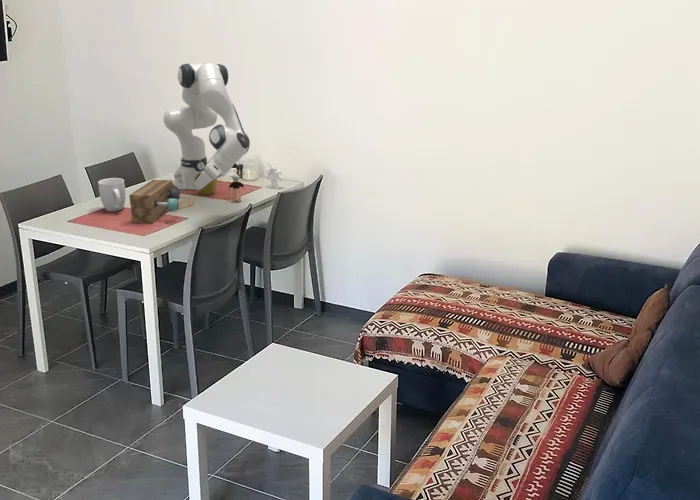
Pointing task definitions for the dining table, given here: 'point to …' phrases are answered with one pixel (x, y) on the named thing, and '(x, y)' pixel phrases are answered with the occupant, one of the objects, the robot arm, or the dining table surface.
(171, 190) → the knob black
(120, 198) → the mug
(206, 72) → the robot arm
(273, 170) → the flower shoulder figurine
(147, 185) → the walnut mount
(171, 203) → the knob teal
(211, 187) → the flower pot
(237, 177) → the grandmother figurine
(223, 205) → the dining table surface
